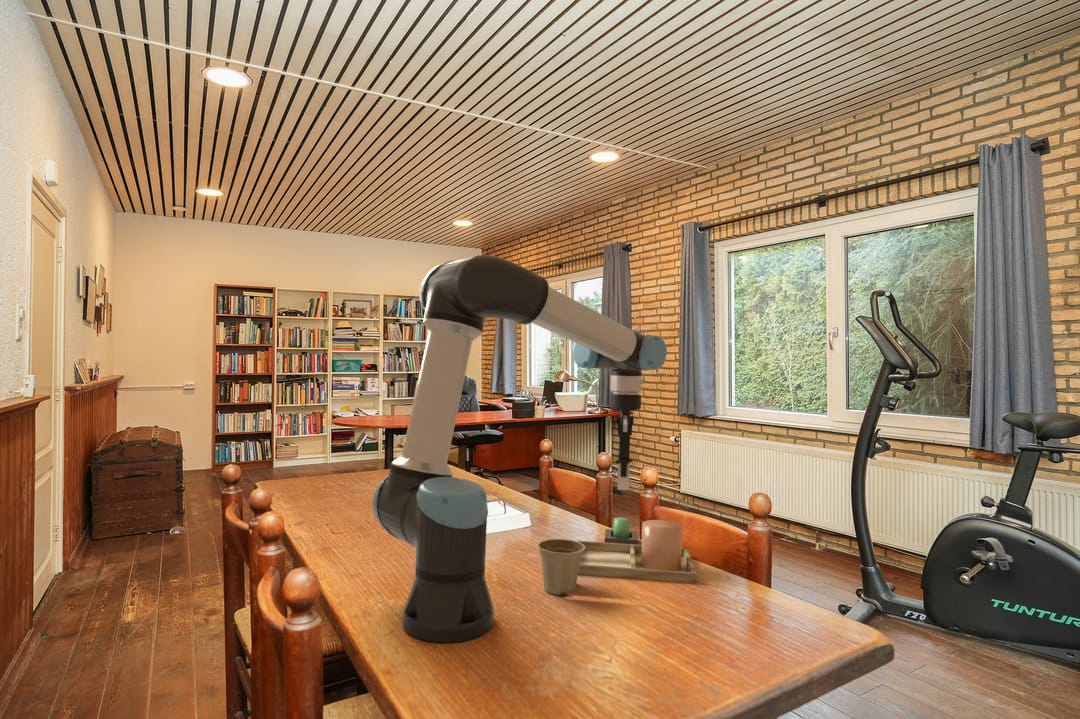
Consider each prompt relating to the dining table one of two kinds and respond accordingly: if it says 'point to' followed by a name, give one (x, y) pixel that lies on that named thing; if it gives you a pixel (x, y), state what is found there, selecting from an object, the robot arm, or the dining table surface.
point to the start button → (621, 527)
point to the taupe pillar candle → (661, 545)
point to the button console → (621, 538)
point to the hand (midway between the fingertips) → (623, 489)
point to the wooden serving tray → (629, 563)
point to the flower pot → (560, 564)
